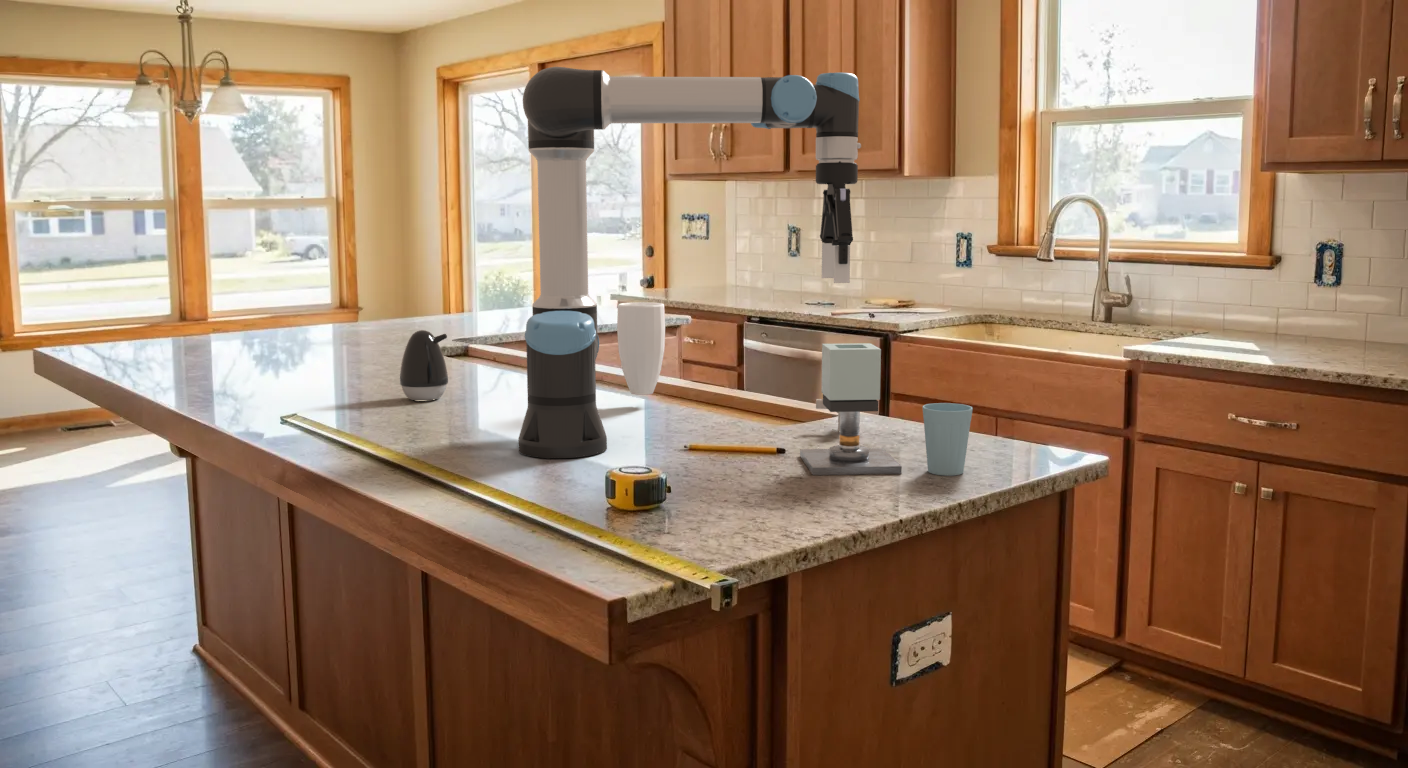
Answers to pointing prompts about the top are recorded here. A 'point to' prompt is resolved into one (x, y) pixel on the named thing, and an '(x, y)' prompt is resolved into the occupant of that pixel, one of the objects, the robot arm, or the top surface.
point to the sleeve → (851, 371)
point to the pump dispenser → (423, 367)
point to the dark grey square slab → (850, 405)
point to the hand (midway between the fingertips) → (835, 280)
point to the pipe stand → (849, 454)
